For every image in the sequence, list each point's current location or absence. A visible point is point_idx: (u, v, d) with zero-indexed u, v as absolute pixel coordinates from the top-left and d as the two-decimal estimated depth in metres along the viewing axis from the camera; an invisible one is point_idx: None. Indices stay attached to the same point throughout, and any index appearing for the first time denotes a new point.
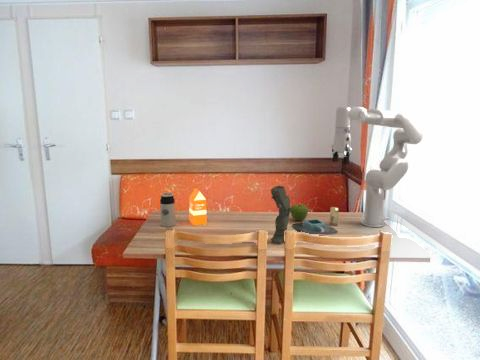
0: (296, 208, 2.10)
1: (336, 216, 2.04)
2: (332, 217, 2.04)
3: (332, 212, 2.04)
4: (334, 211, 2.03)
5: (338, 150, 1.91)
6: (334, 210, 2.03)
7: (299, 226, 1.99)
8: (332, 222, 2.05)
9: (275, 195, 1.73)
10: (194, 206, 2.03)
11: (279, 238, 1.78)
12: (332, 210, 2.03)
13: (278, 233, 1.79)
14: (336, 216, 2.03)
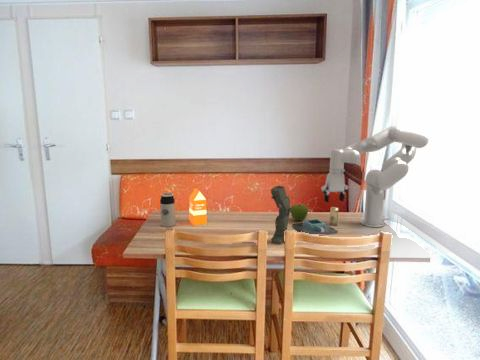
0: (296, 208, 2.10)
1: (336, 216, 2.04)
2: (332, 217, 2.04)
3: (332, 212, 2.04)
4: (334, 211, 2.03)
5: (337, 190, 2.01)
6: (334, 210, 2.03)
7: (299, 226, 1.99)
8: (332, 222, 2.05)
9: (275, 195, 1.73)
10: (194, 206, 2.03)
11: (279, 238, 1.78)
12: (332, 210, 2.03)
13: (278, 233, 1.79)
14: (336, 216, 2.03)
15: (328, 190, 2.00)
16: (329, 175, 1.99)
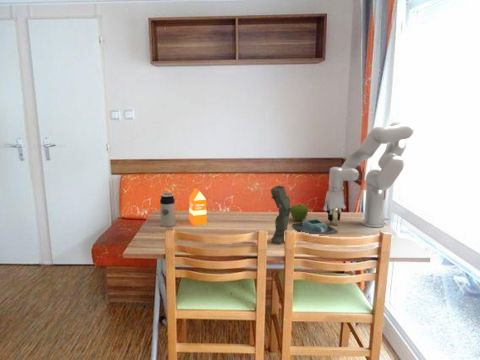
0: (296, 208, 2.10)
1: (336, 216, 2.04)
2: (332, 217, 2.04)
3: (332, 212, 2.04)
4: (334, 211, 2.03)
5: (337, 207, 2.03)
6: (334, 210, 2.03)
7: (299, 226, 1.99)
8: (332, 222, 2.05)
9: (275, 195, 1.73)
10: (194, 206, 2.03)
11: (279, 238, 1.78)
12: (332, 210, 2.03)
13: (278, 233, 1.79)
14: (336, 216, 2.03)
15: (330, 209, 2.03)
16: (328, 193, 2.01)
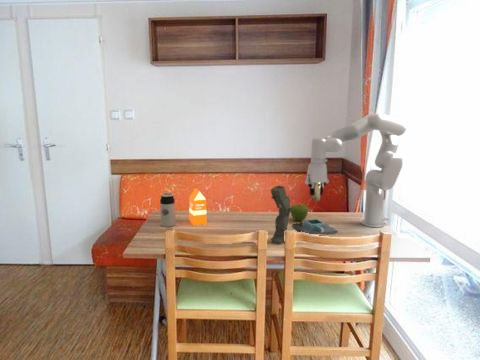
0: (296, 208, 2.10)
1: (318, 190, 1.92)
2: (314, 191, 1.93)
3: (314, 186, 1.92)
4: (316, 185, 1.92)
5: (320, 181, 1.91)
6: (316, 183, 1.92)
7: (299, 226, 1.99)
8: (314, 196, 1.93)
9: (275, 195, 1.73)
10: (194, 206, 2.03)
11: (279, 238, 1.78)
12: (314, 184, 1.92)
13: (278, 233, 1.79)
14: (318, 190, 1.92)
15: (312, 183, 1.92)
16: (310, 165, 1.90)
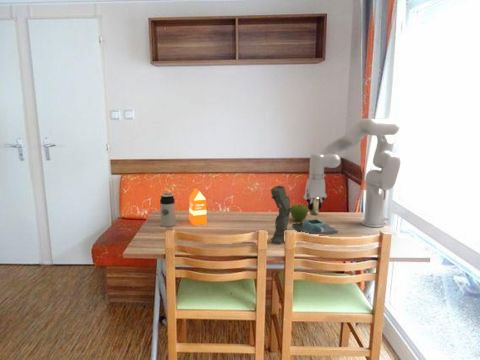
0: (296, 208, 2.10)
1: (317, 205, 1.94)
2: None
3: (312, 201, 1.93)
4: (314, 200, 1.93)
5: (318, 196, 1.93)
6: (314, 199, 1.93)
7: (299, 226, 1.99)
8: (312, 211, 1.94)
9: (275, 195, 1.73)
10: (194, 206, 2.03)
11: (279, 238, 1.78)
12: None
13: (278, 233, 1.79)
14: (316, 205, 1.93)
15: (310, 198, 1.93)
16: (309, 181, 1.91)
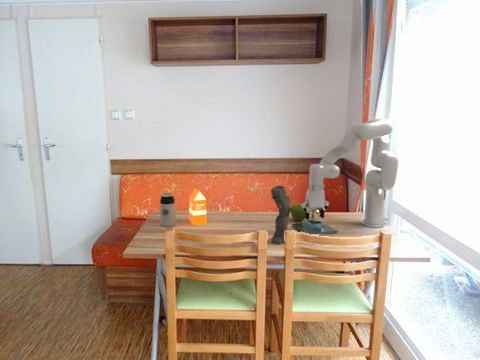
0: (296, 208, 2.10)
1: (317, 218, 1.95)
2: (313, 219, 1.95)
3: (313, 214, 1.95)
4: (315, 213, 1.94)
5: (318, 206, 1.94)
6: (315, 212, 1.94)
7: (299, 226, 1.99)
8: None
9: (275, 195, 1.73)
10: (194, 206, 2.03)
11: (279, 238, 1.78)
12: (313, 212, 1.95)
13: (278, 233, 1.79)
14: (316, 218, 1.95)
15: (308, 207, 1.94)
16: (308, 191, 1.92)
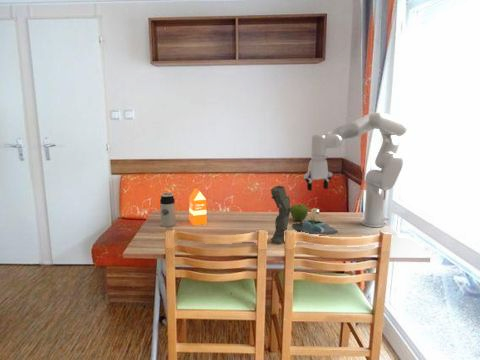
0: (296, 208, 2.10)
1: (317, 218, 1.95)
2: (313, 219, 1.95)
3: (313, 214, 1.95)
4: (315, 213, 1.94)
5: (321, 177, 1.91)
6: (315, 211, 1.94)
7: (299, 226, 1.99)
8: None
9: (275, 195, 1.73)
10: (194, 206, 2.03)
11: (279, 238, 1.78)
12: (313, 211, 1.95)
13: (278, 233, 1.79)
14: (316, 218, 1.95)
15: (311, 178, 1.91)
16: (311, 162, 1.90)
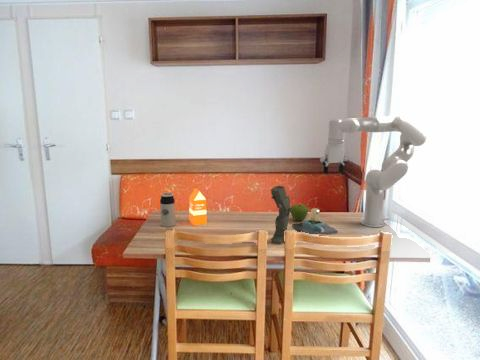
0: (296, 208, 2.10)
1: (317, 218, 1.95)
2: (313, 219, 1.95)
3: (313, 214, 1.95)
4: (315, 213, 1.94)
5: (337, 161, 1.97)
6: (315, 212, 1.94)
7: (299, 226, 1.99)
8: None
9: (275, 195, 1.73)
10: (194, 206, 2.03)
11: (279, 238, 1.78)
12: (313, 212, 1.95)
13: (278, 233, 1.79)
14: (316, 218, 1.95)
15: (327, 161, 1.97)
16: (328, 146, 1.95)
